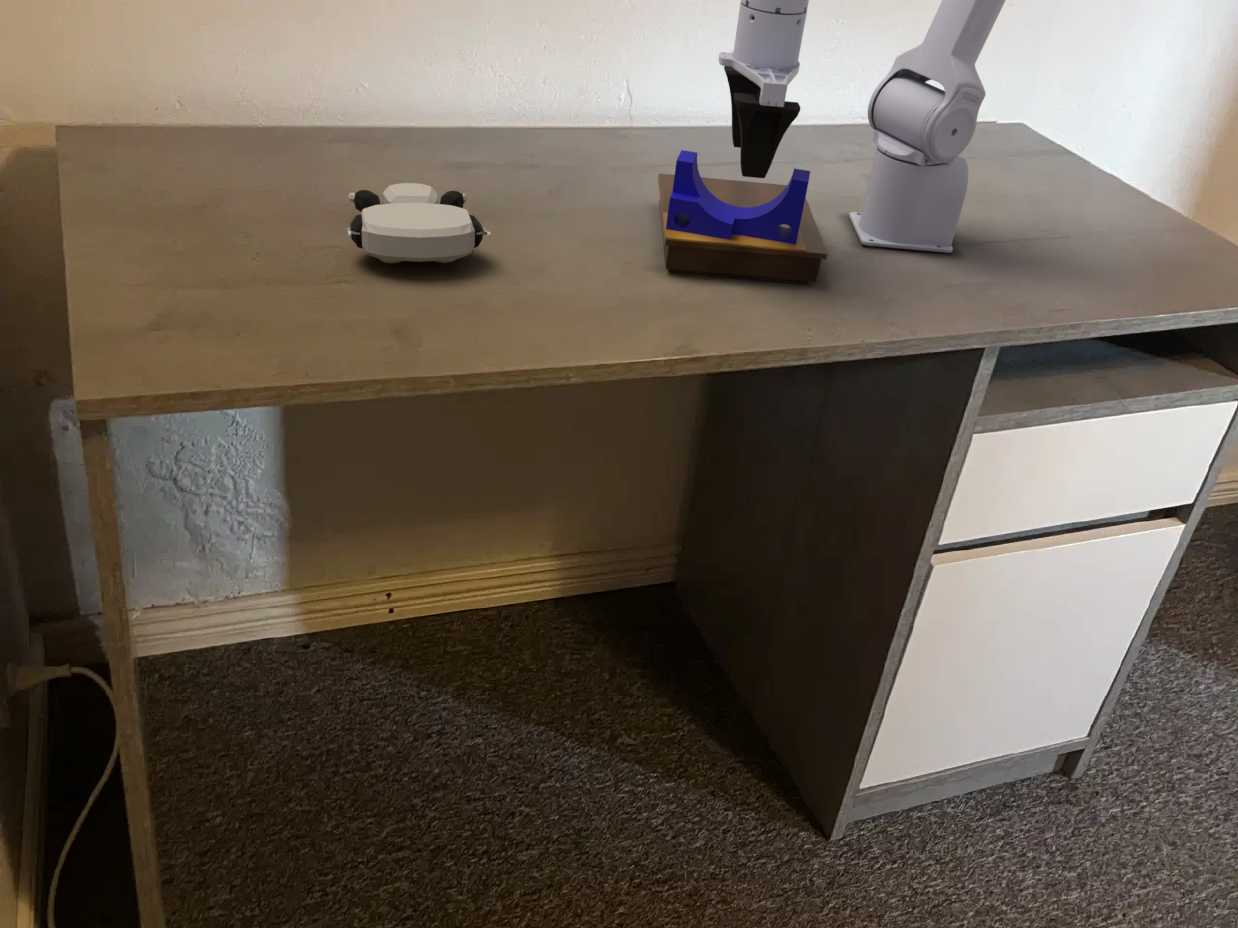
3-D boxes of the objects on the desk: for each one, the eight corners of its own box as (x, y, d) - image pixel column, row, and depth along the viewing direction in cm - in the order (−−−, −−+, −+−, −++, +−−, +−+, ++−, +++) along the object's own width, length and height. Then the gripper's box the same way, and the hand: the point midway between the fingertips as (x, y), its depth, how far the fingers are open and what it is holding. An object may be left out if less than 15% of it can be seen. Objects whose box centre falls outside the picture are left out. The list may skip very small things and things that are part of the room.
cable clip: (665, 228, 105) (673, 165, 102) (673, 211, 109) (681, 150, 106) (794, 250, 104) (807, 187, 101) (798, 232, 108) (810, 171, 104)
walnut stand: (795, 219, 121) (802, 184, 119) (820, 289, 107) (828, 252, 105) (654, 206, 120) (658, 171, 118) (660, 275, 106) (665, 237, 104)
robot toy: (343, 221, 111) (349, 279, 98) (342, 175, 108) (347, 228, 96) (470, 222, 114) (491, 277, 101) (471, 177, 111) (492, 228, 99)
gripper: (719, -17, 103) (699, 131, 111) (735, 23, 91) (711, 186, 99) (797, -10, 103) (771, 137, 111) (822, 31, 91) (792, 193, 99)
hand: (748, 161), depth 105 cm, fingers open, 7 cm apart
